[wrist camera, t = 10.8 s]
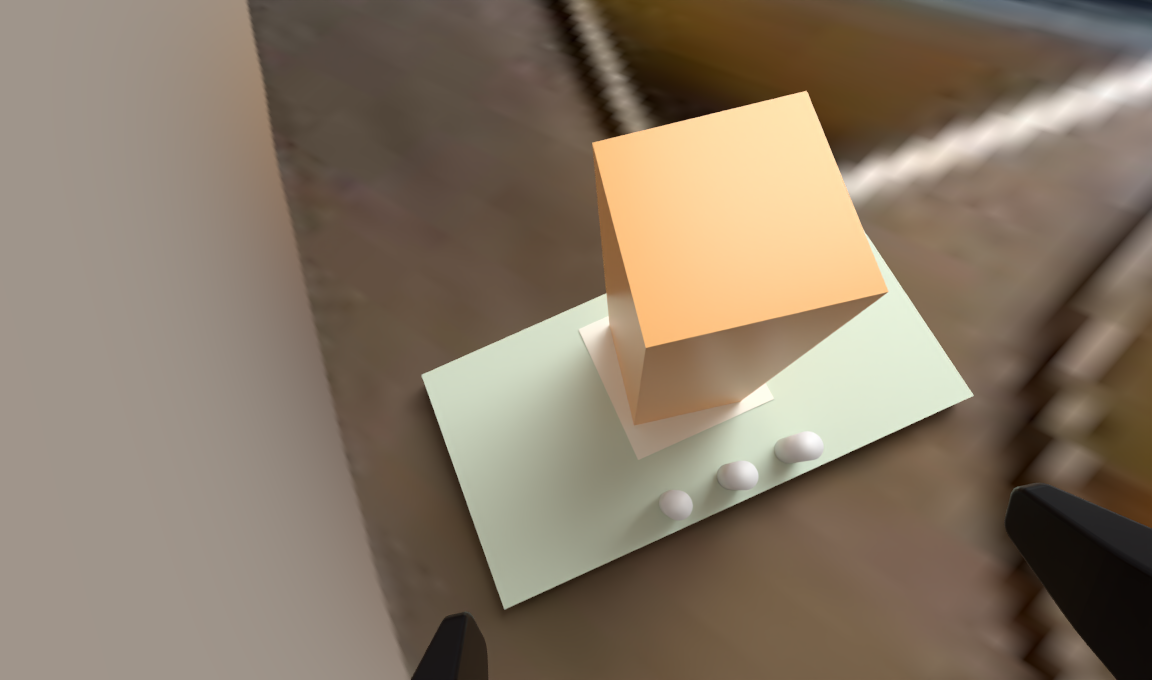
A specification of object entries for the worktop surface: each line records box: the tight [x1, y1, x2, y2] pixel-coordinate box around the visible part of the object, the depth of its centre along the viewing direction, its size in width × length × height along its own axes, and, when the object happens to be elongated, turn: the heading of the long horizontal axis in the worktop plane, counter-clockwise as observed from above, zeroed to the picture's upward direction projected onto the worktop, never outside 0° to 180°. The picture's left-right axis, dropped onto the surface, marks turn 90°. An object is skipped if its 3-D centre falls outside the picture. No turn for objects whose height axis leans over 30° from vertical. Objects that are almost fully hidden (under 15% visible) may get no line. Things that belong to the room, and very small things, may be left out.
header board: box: [422, 232, 974, 610], centre depth 21 cm, size 10×20×4 cm, turn 114°
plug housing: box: [592, 91, 889, 425], centre depth 16 cm, size 4×4×13 cm
